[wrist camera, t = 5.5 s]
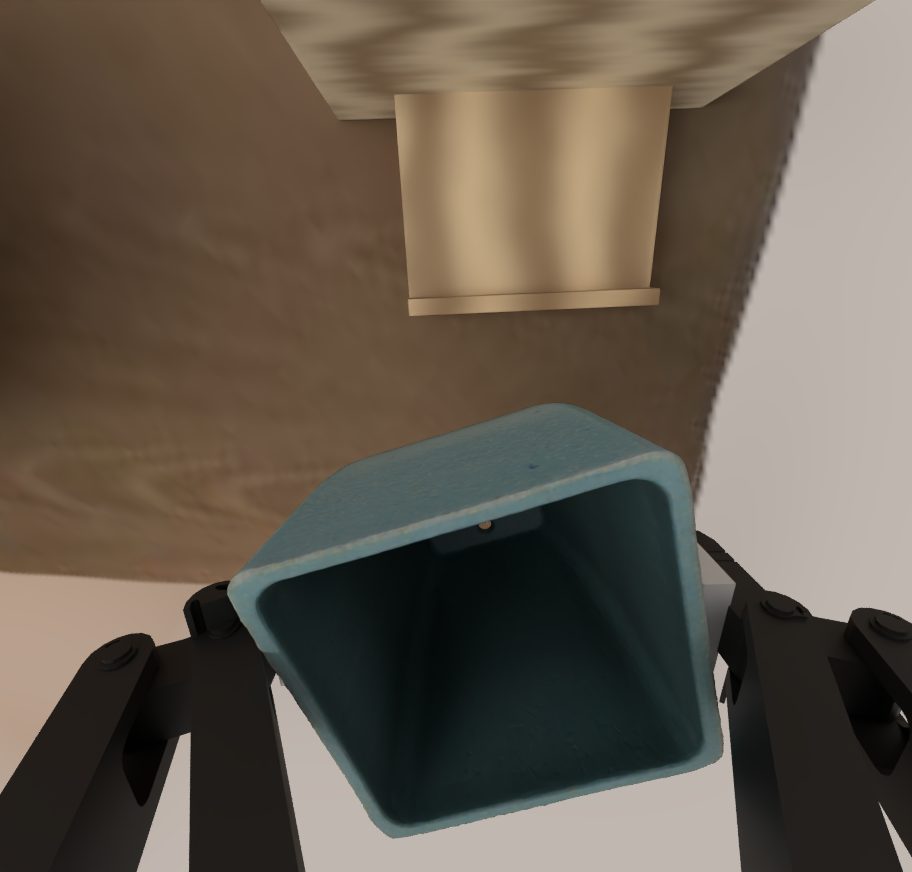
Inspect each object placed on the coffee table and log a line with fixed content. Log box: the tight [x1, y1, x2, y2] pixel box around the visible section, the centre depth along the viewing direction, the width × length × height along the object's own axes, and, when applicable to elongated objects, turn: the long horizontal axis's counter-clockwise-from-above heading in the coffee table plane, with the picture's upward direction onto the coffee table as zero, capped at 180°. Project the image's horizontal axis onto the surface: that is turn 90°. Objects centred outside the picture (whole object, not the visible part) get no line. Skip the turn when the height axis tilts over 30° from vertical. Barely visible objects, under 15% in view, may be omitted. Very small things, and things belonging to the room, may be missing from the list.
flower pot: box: [227, 403, 724, 838], centre depth 13 cm, size 9×9×9 cm
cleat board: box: [260, 0, 875, 316], centre depth 20 cm, size 24×14×22 cm, turn 92°
